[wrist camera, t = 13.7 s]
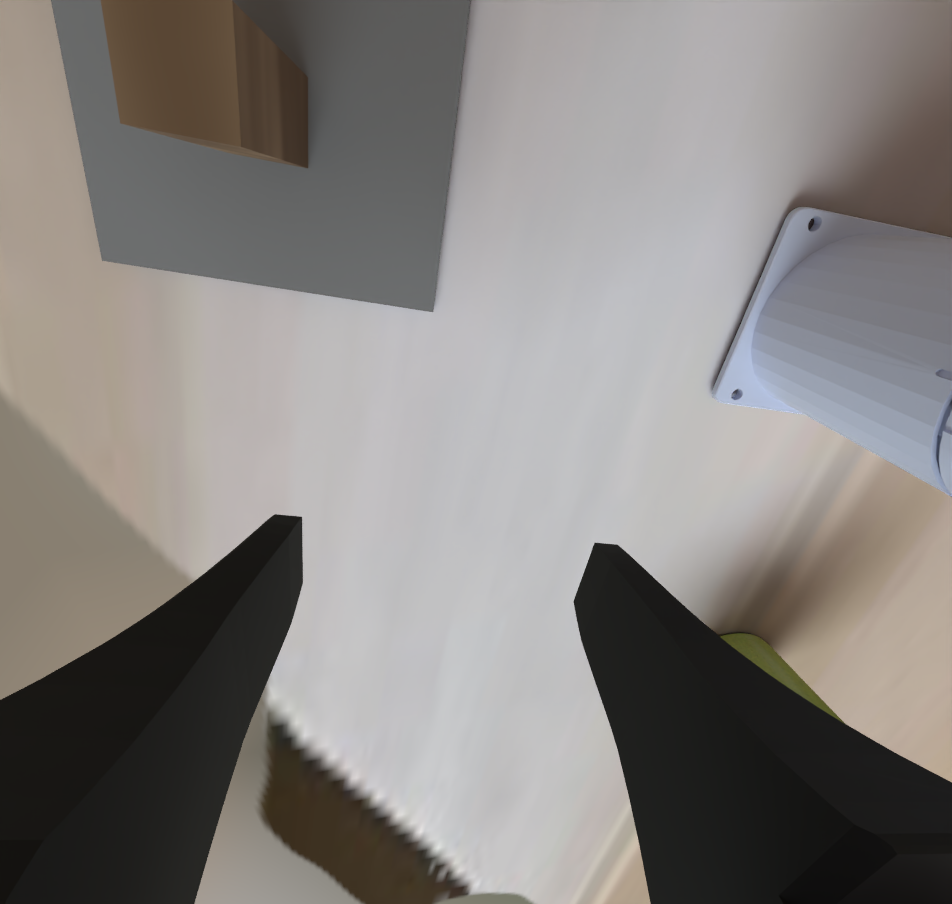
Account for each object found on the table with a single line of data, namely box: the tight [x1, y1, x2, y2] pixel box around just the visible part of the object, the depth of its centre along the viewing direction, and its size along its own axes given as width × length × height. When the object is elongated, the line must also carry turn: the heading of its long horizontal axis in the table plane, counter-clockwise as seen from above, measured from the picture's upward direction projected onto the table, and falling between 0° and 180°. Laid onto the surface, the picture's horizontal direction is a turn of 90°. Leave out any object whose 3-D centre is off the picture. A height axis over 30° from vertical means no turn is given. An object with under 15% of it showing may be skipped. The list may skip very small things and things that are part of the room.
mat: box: [51, 0, 470, 312], centre depth 15 cm, size 12×12×1 cm
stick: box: [101, 0, 308, 168], centre depth 12 cm, size 2×2×6 cm
